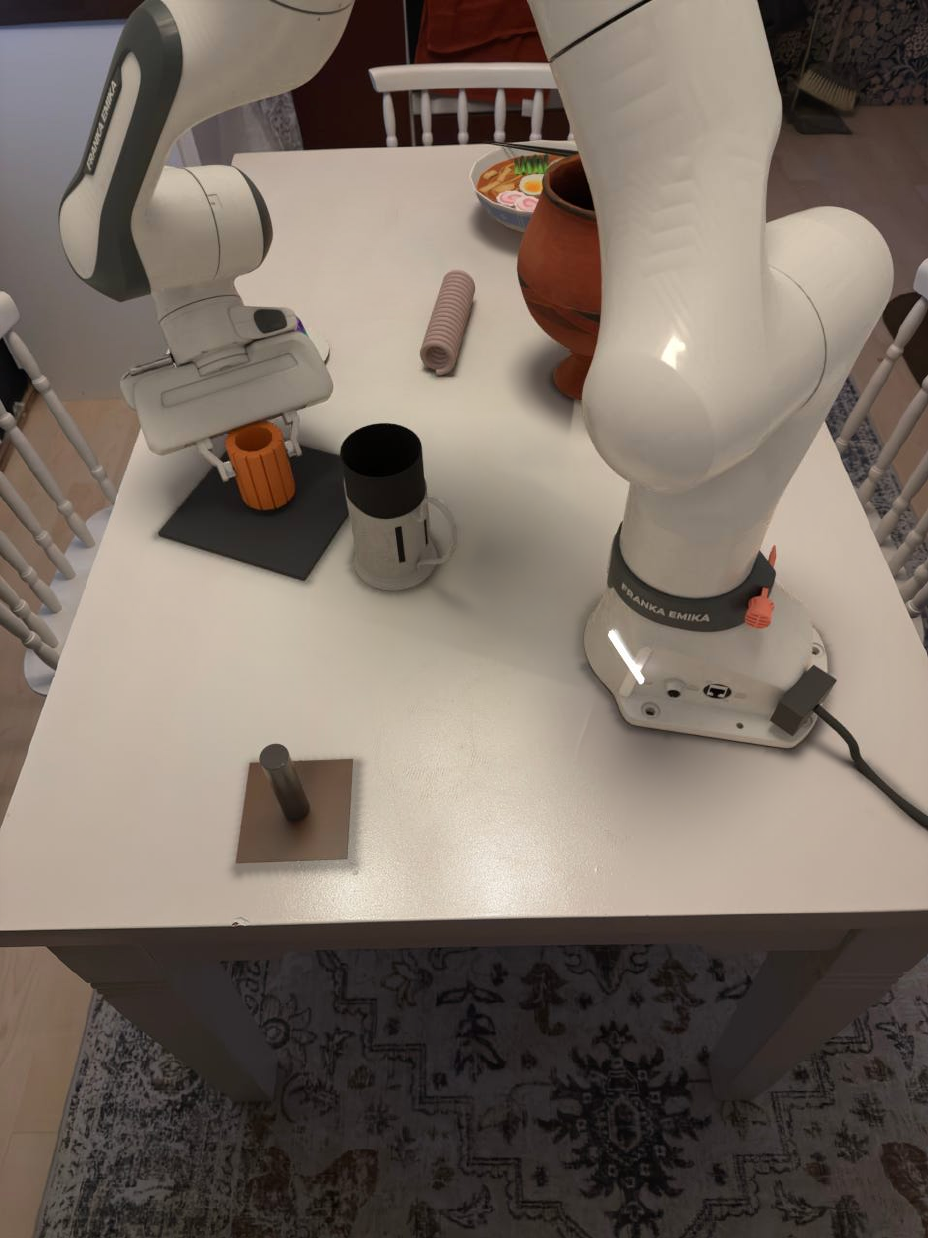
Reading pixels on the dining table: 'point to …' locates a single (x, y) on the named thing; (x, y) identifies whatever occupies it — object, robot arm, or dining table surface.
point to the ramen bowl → (515, 178)
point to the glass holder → (390, 507)
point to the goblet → (564, 269)
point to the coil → (448, 322)
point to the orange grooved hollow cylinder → (261, 465)
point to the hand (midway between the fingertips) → (263, 468)
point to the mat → (267, 517)
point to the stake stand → (295, 809)
